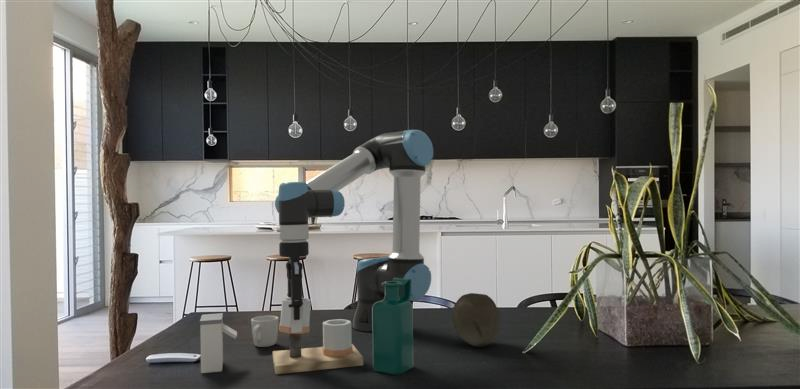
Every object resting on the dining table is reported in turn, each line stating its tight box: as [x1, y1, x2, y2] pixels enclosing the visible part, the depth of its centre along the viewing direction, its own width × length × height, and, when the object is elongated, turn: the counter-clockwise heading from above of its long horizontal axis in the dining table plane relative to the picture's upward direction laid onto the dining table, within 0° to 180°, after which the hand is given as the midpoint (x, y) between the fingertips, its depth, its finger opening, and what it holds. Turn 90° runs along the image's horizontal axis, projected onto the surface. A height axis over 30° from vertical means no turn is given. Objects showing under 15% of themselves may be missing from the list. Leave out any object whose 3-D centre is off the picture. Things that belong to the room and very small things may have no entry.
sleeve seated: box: [321, 318, 353, 357], centre depth 146 cm, size 8×8×8 cm
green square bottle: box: [371, 278, 414, 376], centre depth 138 cm, size 10×8×22 cm
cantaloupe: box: [451, 292, 501, 348], centre depth 158 cm, size 14×14×15 cm
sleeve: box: [278, 296, 312, 335], centre depth 143 cm, size 8×8×8 cm
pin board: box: [272, 334, 364, 375], centre depth 145 cm, size 22×14×9 cm, turn 106°
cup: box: [250, 315, 280, 348], centre depth 161 cm, size 11×8×8 cm
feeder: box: [199, 312, 238, 374], centre depth 142 cm, size 9×8×13 cm
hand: (295, 328), depth 143 cm, fingers closed on sleeve, 8 cm apart
